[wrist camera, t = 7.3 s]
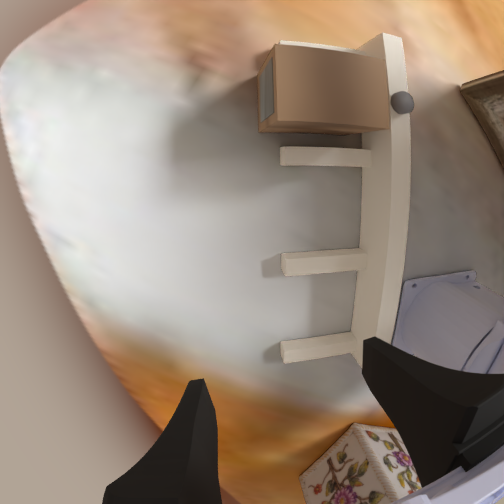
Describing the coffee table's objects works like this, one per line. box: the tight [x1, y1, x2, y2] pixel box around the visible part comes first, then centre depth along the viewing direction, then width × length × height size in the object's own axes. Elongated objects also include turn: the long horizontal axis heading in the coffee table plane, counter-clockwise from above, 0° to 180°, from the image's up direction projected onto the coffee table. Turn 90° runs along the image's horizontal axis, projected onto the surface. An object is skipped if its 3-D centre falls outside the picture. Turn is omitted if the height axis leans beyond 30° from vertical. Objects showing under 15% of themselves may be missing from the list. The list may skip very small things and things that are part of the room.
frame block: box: [257, 44, 389, 135], centre depth 16 cm, size 6×4×6 cm, turn 91°
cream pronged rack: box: [278, 33, 414, 368], centre depth 19 cm, size 8×24×5 cm, turn 2°
